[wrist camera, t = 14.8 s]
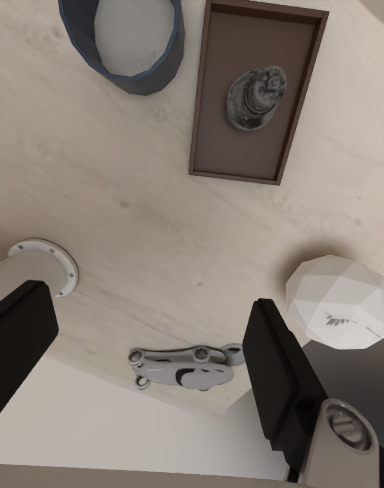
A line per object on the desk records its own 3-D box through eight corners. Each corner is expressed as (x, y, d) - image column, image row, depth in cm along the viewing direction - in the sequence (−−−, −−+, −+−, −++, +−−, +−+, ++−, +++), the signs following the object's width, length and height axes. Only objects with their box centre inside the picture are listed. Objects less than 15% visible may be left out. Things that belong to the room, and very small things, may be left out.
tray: (189, 173, 31) (188, 174, 29) (206, 5, 23) (206, -6, 22) (275, 183, 31) (279, 185, 30) (320, 21, 24) (330, 11, 22)
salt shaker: (251, 66, 25) (290, 5, 14) (277, 108, 27) (330, 82, 16) (214, 105, 27) (224, 77, 16) (241, 142, 29) (266, 139, 18)
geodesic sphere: (251, 320, 35) (341, 400, 25) (279, 246, 29) (412, 314, 19) (296, 295, 44) (376, 348, 34) (325, 235, 38) (432, 277, 28)
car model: (126, 347, 48) (119, 368, 44) (231, 345, 47) (235, 366, 42) (135, 377, 53) (129, 398, 48) (231, 376, 51) (234, 398, 47)
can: (95, 89, 27) (66, 73, 21) (86, -37, 22) (45, -103, 16) (179, 100, 27) (174, 87, 21) (188, -23, 23) (185, -83, 17)
